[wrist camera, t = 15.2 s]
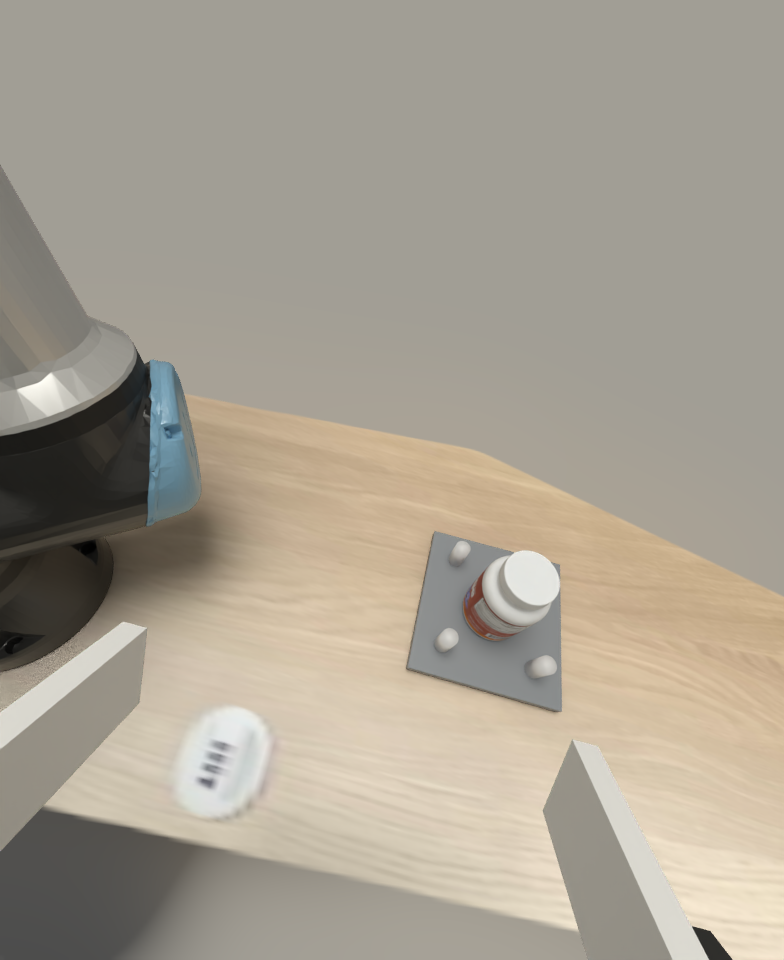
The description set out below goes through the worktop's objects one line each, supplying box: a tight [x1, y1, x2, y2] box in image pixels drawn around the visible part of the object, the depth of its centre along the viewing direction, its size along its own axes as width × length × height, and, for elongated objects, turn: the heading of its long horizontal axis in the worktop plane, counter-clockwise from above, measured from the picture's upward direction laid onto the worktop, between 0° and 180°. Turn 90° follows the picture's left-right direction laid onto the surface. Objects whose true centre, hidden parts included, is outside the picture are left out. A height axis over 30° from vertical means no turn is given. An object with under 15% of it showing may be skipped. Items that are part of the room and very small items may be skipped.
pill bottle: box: [463, 550, 560, 641], centre depth 35 cm, size 6×6×11 cm
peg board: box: [406, 531, 562, 712], centre depth 39 cm, size 15×15×5 cm
